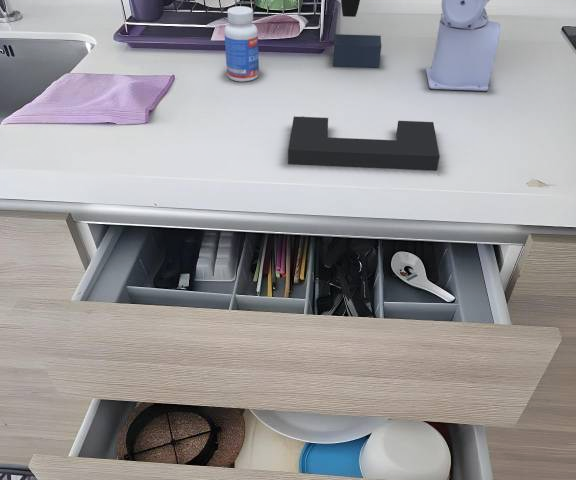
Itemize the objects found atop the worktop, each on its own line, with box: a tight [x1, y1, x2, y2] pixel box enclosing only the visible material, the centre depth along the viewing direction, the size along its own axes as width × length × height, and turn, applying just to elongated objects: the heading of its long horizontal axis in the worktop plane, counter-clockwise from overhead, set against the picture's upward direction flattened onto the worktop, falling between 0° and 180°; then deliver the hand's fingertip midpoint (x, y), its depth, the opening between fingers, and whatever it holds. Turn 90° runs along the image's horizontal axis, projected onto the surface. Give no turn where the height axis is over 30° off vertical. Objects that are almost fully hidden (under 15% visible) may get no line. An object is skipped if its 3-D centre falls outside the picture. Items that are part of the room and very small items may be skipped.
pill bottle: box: [223, 5, 260, 82], centre depth 95 cm, size 6×5×10 cm
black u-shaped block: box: [287, 115, 440, 171], centre depth 81 cm, size 20×10×2 cm, turn 85°
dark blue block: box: [332, 33, 382, 69], centre depth 101 cm, size 8×5×4 cm, turn 85°
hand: (349, 8), depth 96 cm, fingers open, 7 cm apart
